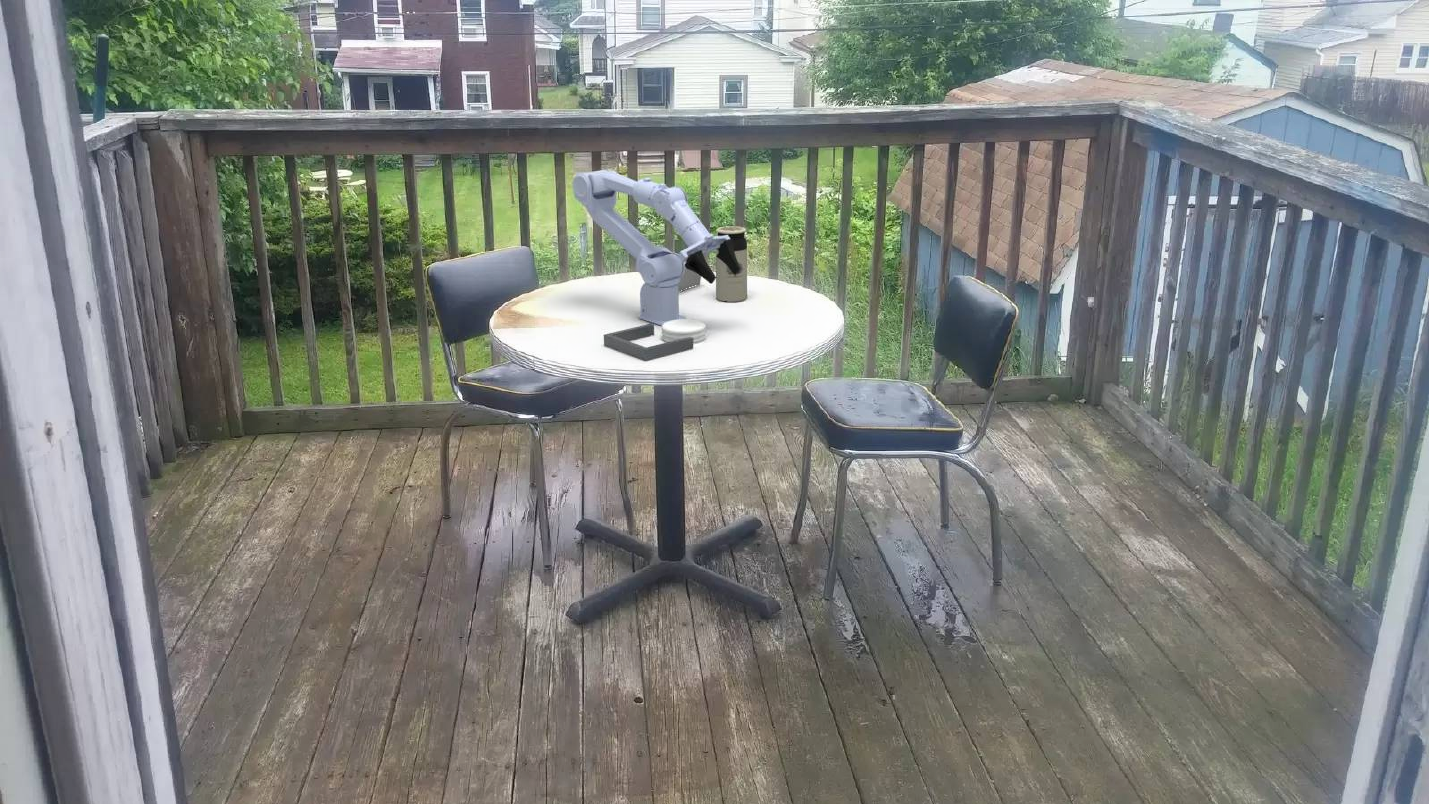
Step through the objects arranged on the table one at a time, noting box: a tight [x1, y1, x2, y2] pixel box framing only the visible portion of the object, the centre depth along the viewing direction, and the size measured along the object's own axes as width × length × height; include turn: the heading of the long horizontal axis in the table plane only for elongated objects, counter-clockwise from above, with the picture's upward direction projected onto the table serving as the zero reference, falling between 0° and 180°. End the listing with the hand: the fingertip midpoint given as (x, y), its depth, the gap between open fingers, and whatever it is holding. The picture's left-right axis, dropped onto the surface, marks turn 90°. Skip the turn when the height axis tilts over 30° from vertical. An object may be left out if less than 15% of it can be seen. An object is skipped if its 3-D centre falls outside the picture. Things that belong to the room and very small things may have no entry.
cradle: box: [603, 323, 694, 362], centre depth 248 cm, size 15×13×2 cm
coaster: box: [661, 318, 707, 344], centre depth 254 cm, size 10×10×4 cm
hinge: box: [678, 261, 702, 292], centre depth 294 cm, size 17×5×10 cm, turn 144°
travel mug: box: [715, 225, 748, 303], centre depth 284 cm, size 8×8×18 cm
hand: (725, 276), depth 252 cm, fingers open, 7 cm apart
